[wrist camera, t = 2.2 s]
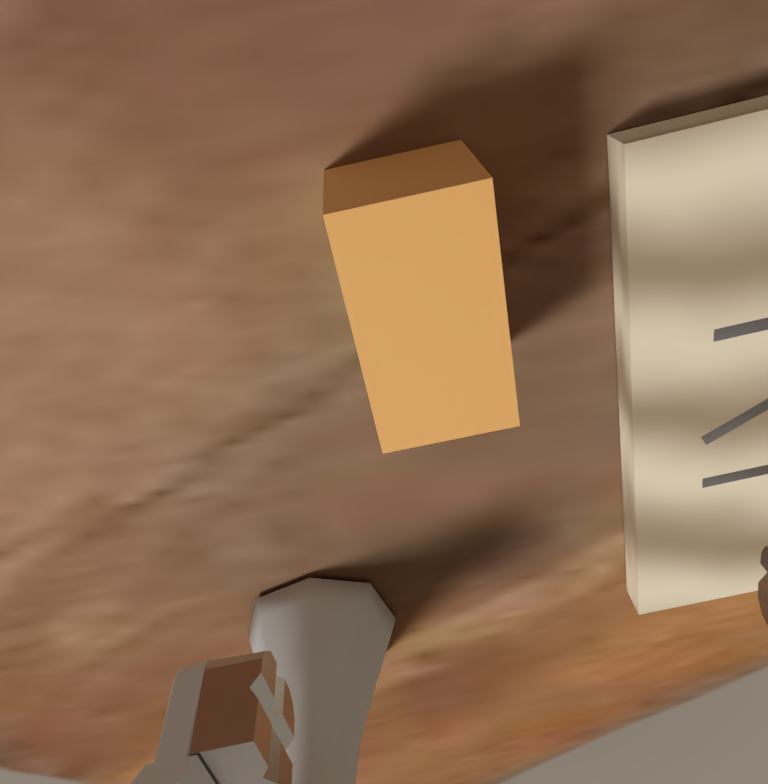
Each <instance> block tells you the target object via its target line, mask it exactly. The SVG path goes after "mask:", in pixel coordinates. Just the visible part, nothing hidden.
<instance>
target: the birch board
mask: <svg viewBox="0 0 768 784" xmlns="http://www.w3.org/2000/svg"><path fill="white" fill-rule="evenodd" d="M607 148H608V171H609V194H610V216H611V239H612V262H613V284H614V307H615V330H616V352H617V375H618V398H619V421H620V443H621V466H622V489H623V511H624V534H625V557H626V580H627V591H628V593H629V595H630V598H631V600H632V602H633V604H634V606H635V608H636V610H637V612H638V614H639V615H640V614H645V613H650V612H654V611H659V610H664V609H669V608H674V607H679V606H684V605H689V604H694V603H698V602H703V601H708V600H713V599H718V598H723V597H728V596H733V595H738V594H742V593H747V592H752V591H757V590H758V582H759V581H760V580H761V579H762V578H763V577H764V575H765V574H766V573H767V571H766V570H765V569H764V567H763V566H762V565H761V563H760V560H761V551H762V550H763V549H764V547H765V546H766V545H768V95H766V96H762V97H758V98H754V99H750V100H746V101H742V102H737V103H733V104H729V105H725V106H721V107H717V108H713V109H709V110H705V111H701V112H697V113H693V114H689V115H685V116H681V117H677V118H672V119H668V120H664V121H660V122H656V123H652V124H648V125H644V126H640V127H636V128H632V129H628V130H624V131H620V132H616V133H611V134H607Z"/></svg>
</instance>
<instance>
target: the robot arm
mask: <svg viewBox="0 0 768 784" xmlns="http://www.w3.org/2000/svg"><path fill="white" fill-rule="evenodd" d="M760 563H761V565H762V566H763V567H764V569H765V570H766V571H767V573H766V574H765V575H764V577H763V578H762V579H761V580H760V581H759V582H758V600H759V604H760V608H761V611H762V615H763V617H764V619H765V621H766V623H767V625H768V545H766V546H765V547H764V549H763V550H762V551H761V560H760ZM276 669H277V662H276V660H275V658H274V657H273V655H272V653H271V651H262V652H257V653H251V654H246V655H240V656H235V657H229V658H223V659H218V660H212V661H208V662H203V663H197V664H192V665H187V666H182V667H180V669H179V670H178V672H177V674H176V675H175V677H174V682H173V686H172V690H171V694H170V699H169V703H168V707H167V711H166V716H165V720H164V724H163V729H162V733H161V737H160V741H159V746H158V750H157V754H156V758H155V763H152V764H148V765H145V767H144V768H143V769H142V770H141V772H140V773H139V774H138V775H137V777H136V778H135V779H134V780H133V782H132V783H131V784H292V769H293V764H292V762H291V760H290V758H289V756H288V754H287V752H286V749H287V748H288V746H289V745H290V743H291V742H292V740H293V739H294V726H295V718H294V709H293V701H292V697H291V693H290V690H289V687H288V685H287V683H286V681H285V679H283V678H281V677H279V676H277V675H276Z"/></svg>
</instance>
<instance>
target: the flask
mask: <svg viewBox="0 0 768 784" xmlns="http://www.w3.org/2000/svg"><path fill="white" fill-rule="evenodd" d="M395 620H396V619H395V617H394V616H393V614H392V613H391V612H390V610H389V609H388V607H387V606H386V605H385V603H384V602H383V600H382V599H381V598H380V596H379V595H378V593H377V592H376V590H375V589H374V588H373V586H372V585H371V583H363V582H352V581H341V580H330V579H319V578H307V579H305V580H302V581H300V582H297V583H295V584H292V585H290V586H287V587H285V588H282V589H280V590H277V591H275V592H272V593H270V594H267V595H265V596H262V597H260V598H257V599H255V604H254V611H253V617H252V624H251V630H250V637H249V641H250V644H251V648H252V651H253V653H257V652H262V651H271V653H272V655H273V657H274V658H275V660H276V662H277V669H276V675H277V676H279V677H281V678H283V679H285V681H286V683H287V685H288V687H289V690H290V693H291V697H292V701H293V709H294V718H295V726H294V739H293V740H292V742H291V743H290V745H289V746H288V748H287V749H286V752H287V754H288V756H289V758H290V760H291V762H292V764H293V769H292V784H355V780H356V772H357V764H358V757H359V749H360V741H361V737H362V733H363V730H364V726H365V722H366V719H367V715H368V711H369V708H370V704H371V700H372V697H373V693H374V689H375V686H376V682H377V679H378V676H379V673H380V670H381V666H382V663H383V660H384V657H385V654H386V650H387V647H388V644H389V641H390V638H391V634H392V631H393V627H394V624H395Z"/></svg>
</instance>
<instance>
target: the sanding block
mask: <svg viewBox="0 0 768 784" xmlns="http://www.w3.org/2000/svg"><path fill="white" fill-rule="evenodd" d="M323 217H324V221H325V225H326V229H327V233H328V237H329V241H330V245H331V249H332V253H333V257H334V261H335V265H336V269H337V273H338V277H339V281H340V285H341V289H342V293H343V297H344V301H345V305H346V309H347V313H348V317H349V321H350V325H351V329H352V333H353V337H354V341H355V345H356V349H357V353H358V357H359V361H360V365H361V369H362V373H363V377H364V381H365V385H366V389H367V393H368V397H369V401H370V405H371V409H372V413H373V417H374V421H375V425H376V429H377V433H378V437H379V441H380V445H381V449H382V453H388V452H393V451H398V450H403V449H408V448H413V447H418V446H423V445H428V444H433V443H438V442H443V441H447V440H452V439H457V438H462V437H467V436H472V435H477V434H482V433H487V432H492V431H497V430H502V429H507V428H512V427H517V426H520V423H519V414H518V405H517V396H516V387H515V378H514V369H513V360H512V351H511V342H510V333H509V323H508V314H507V305H506V296H505V287H504V278H503V269H502V260H501V251H500V242H499V233H498V224H497V214H496V205H495V196H494V187H493V178H492V177H491V175H490V174H489V173H488V172H487V171H486V169H485V168H484V167H483V166H482V165H481V163H480V162H479V161H478V160H477V159H476V157H475V156H474V155H473V154H472V152H471V151H470V150H469V149H468V148H467V146H466V145H465V144H464V143H463V142H462V140H457V141H452V142H448V143H443V144H439V145H434V146H430V147H425V148H421V149H416V150H412V151H407V152H403V153H398V154H394V155H389V156H385V157H380V158H376V159H371V160H367V161H362V162H358V163H353V164H349V165H344V166H340V167H335V168H331V169H326V170H324V192H323Z"/></svg>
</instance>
